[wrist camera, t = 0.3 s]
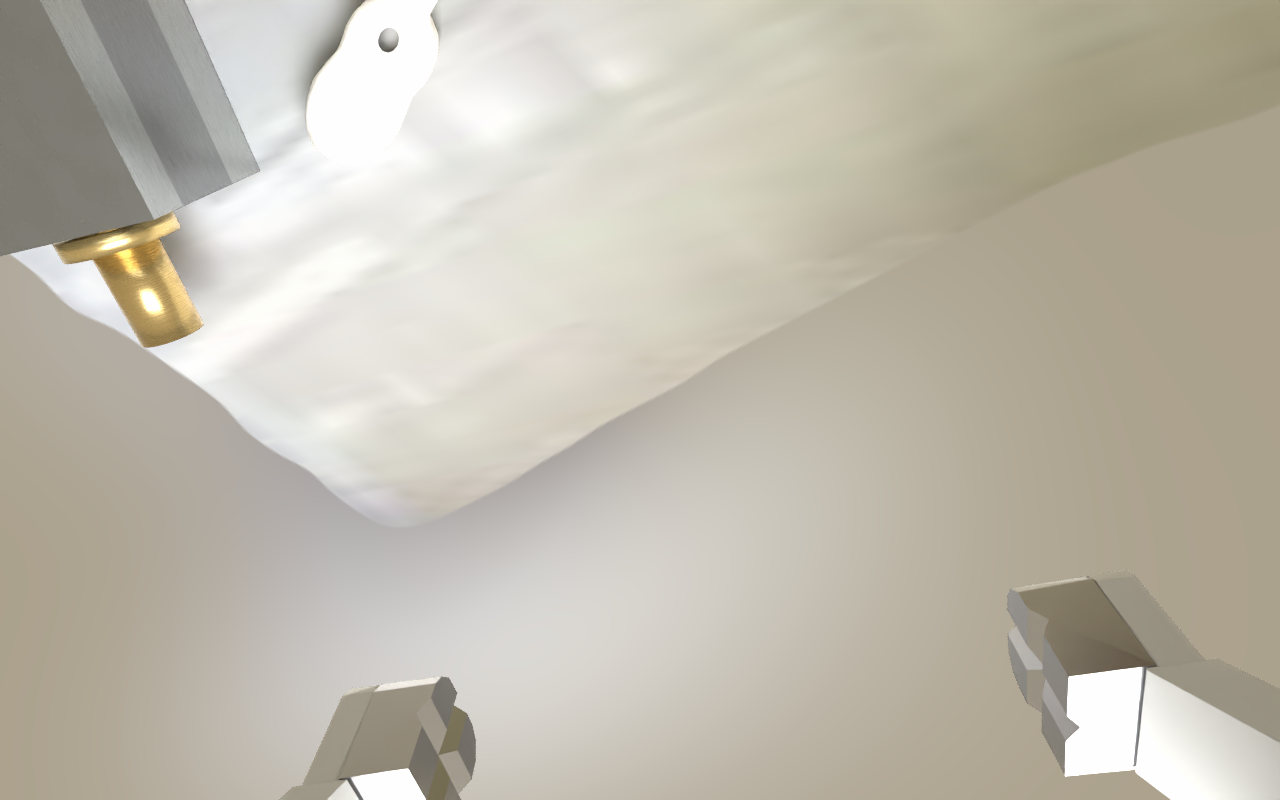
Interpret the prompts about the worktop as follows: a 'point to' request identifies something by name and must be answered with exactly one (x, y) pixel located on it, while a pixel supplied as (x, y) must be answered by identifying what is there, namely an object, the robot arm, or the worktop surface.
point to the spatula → (371, 78)
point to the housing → (107, 118)
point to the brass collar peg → (140, 278)
